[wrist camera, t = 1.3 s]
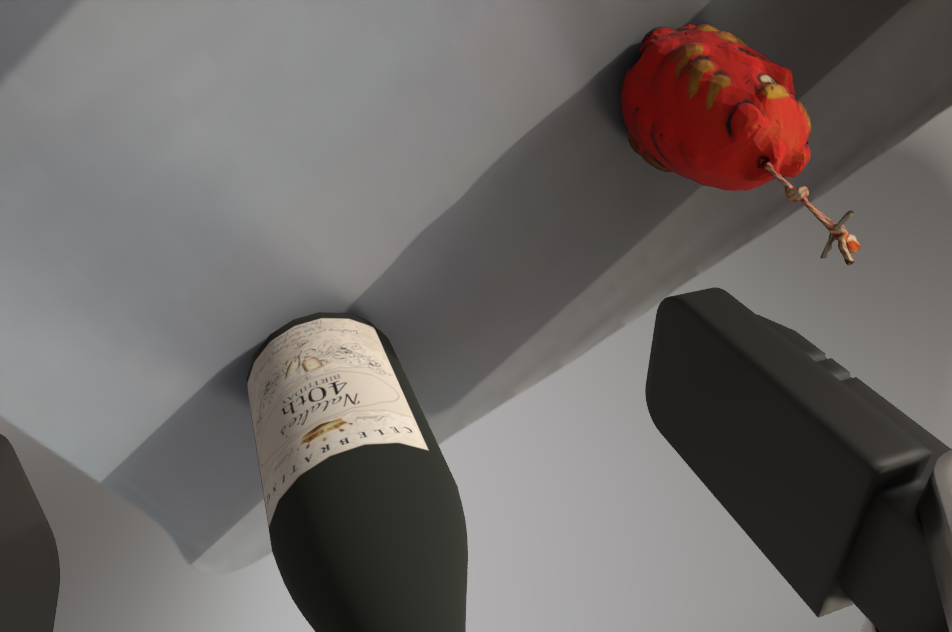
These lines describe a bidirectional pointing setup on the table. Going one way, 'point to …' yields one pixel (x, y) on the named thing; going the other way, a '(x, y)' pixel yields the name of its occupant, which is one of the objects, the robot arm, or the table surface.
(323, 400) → the wine bottle
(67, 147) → the table surface
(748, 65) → the red rounded body
